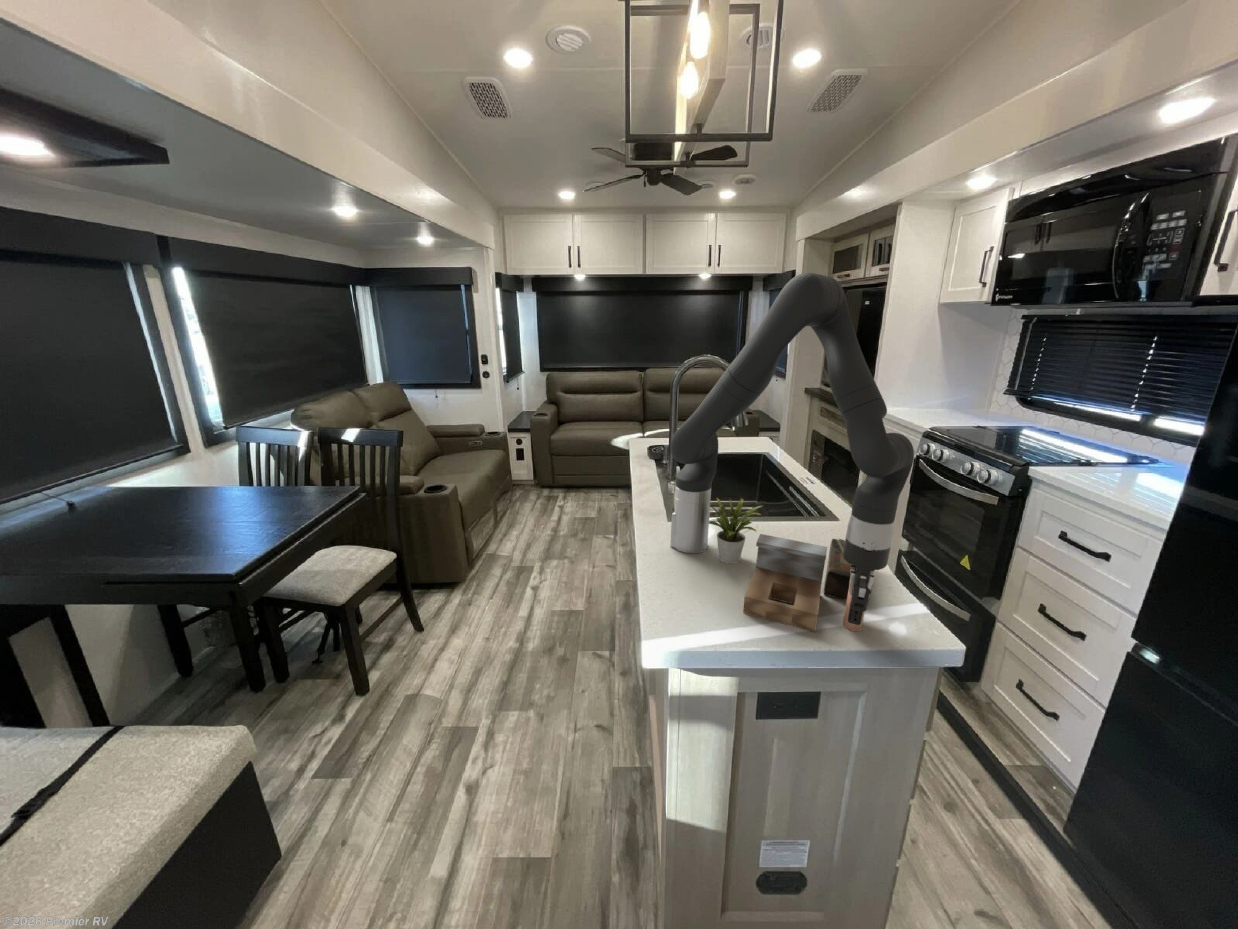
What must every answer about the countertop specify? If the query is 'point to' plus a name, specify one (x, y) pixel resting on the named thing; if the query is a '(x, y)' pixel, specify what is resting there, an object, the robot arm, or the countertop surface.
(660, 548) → the countertop surface
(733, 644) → the countertop surface
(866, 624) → the countertop surface
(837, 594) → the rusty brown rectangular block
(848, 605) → the peg
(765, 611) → the socket station
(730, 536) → the house plant
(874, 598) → the countertop surface
